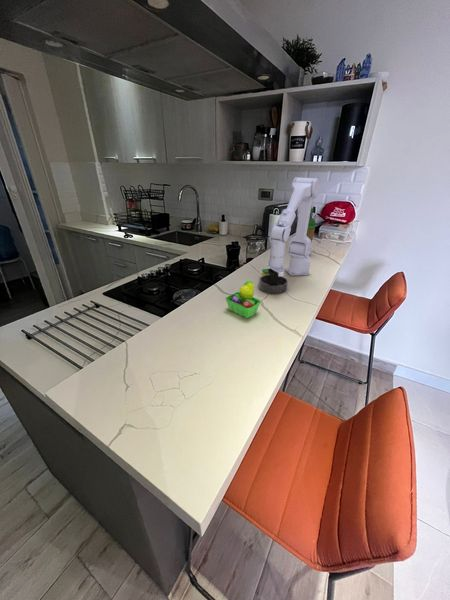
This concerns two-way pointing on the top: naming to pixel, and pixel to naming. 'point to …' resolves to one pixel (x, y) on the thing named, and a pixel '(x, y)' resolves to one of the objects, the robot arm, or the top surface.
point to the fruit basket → (244, 301)
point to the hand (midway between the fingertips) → (273, 285)
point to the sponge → (265, 272)
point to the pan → (268, 288)
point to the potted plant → (311, 226)
